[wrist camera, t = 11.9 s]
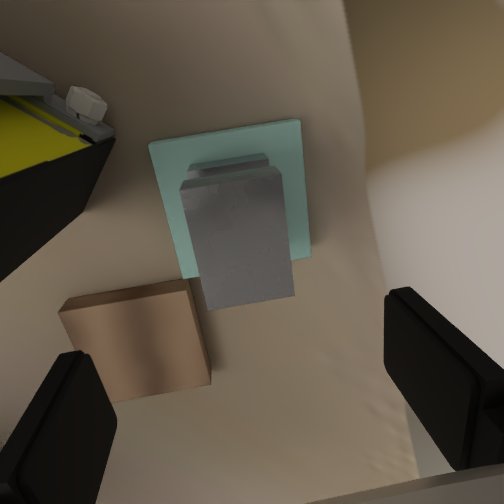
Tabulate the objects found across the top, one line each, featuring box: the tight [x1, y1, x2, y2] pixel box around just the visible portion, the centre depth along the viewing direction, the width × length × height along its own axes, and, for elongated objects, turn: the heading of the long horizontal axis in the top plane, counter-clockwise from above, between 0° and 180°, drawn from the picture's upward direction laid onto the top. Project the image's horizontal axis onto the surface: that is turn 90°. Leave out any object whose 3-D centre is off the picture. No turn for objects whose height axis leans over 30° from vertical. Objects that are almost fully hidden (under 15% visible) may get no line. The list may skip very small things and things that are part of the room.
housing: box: [179, 153, 295, 311], centre depth 21 cm, size 7×5×7 cm
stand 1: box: [58, 278, 211, 403], centre depth 30 cm, size 10×10×2 cm
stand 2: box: [148, 119, 311, 279], centre depth 25 cm, size 10×10×2 cm
